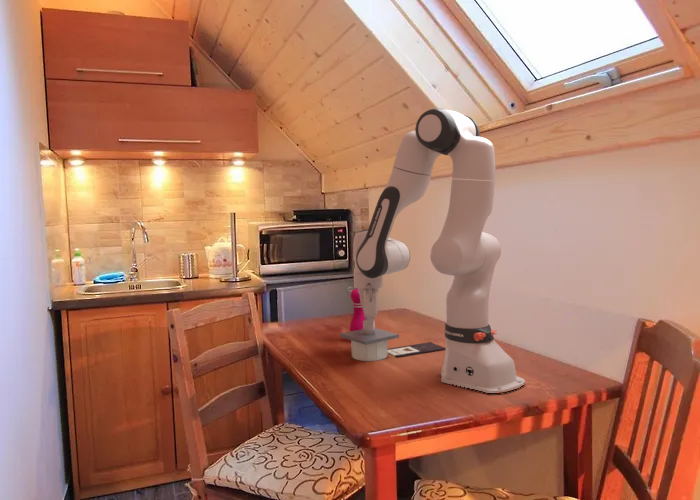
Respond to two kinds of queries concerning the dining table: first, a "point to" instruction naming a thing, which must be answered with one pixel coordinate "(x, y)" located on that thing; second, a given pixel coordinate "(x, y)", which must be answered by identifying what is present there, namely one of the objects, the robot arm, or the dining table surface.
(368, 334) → the lid
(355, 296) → the pepper mill
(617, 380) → the dining table surface
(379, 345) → the bowl
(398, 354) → the chocolate bar
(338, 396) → the dining table surface
